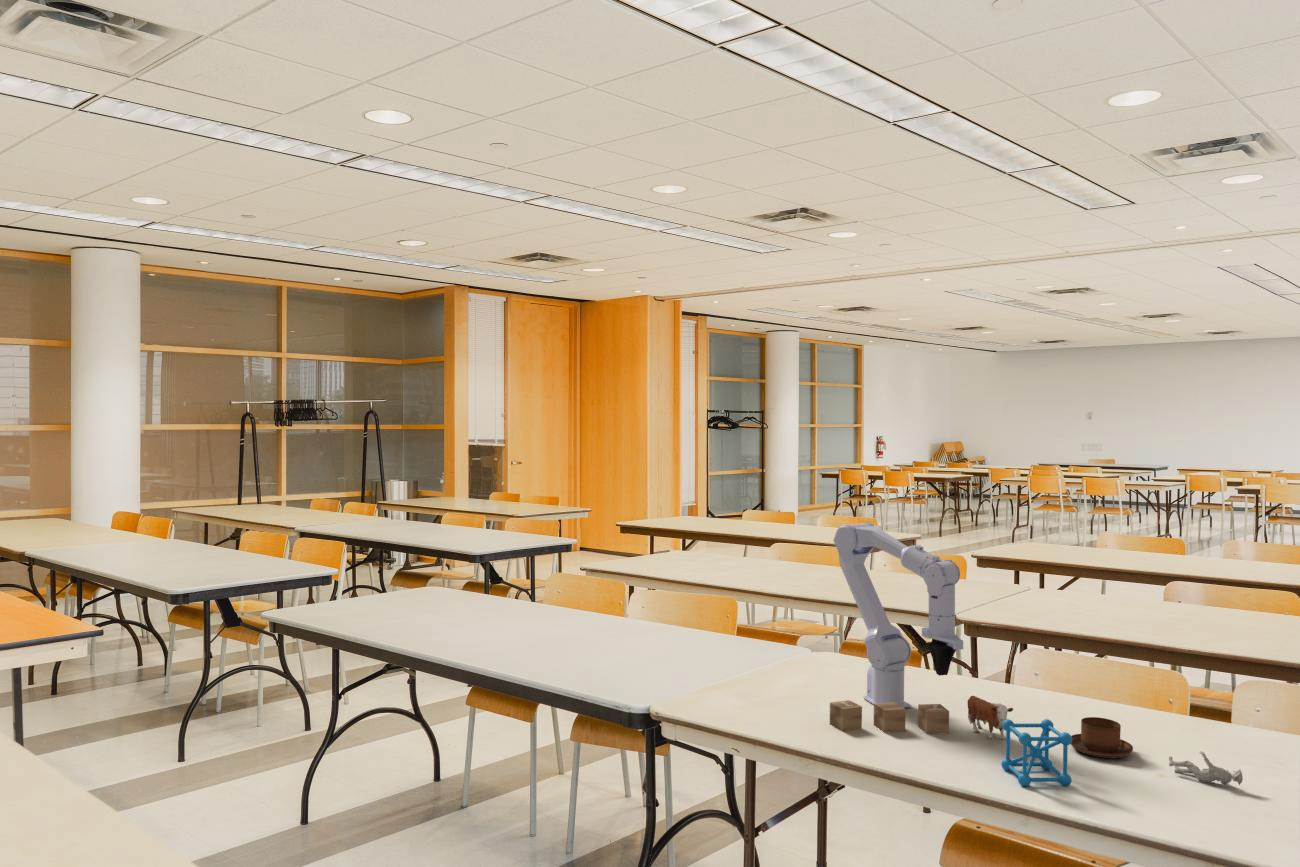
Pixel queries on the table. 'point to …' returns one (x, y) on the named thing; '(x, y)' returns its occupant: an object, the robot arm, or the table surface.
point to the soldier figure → (1207, 771)
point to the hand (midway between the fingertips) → (941, 674)
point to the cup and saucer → (1101, 738)
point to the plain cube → (889, 717)
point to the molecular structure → (1036, 752)
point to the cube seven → (933, 718)
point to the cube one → (845, 715)
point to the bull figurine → (987, 715)
